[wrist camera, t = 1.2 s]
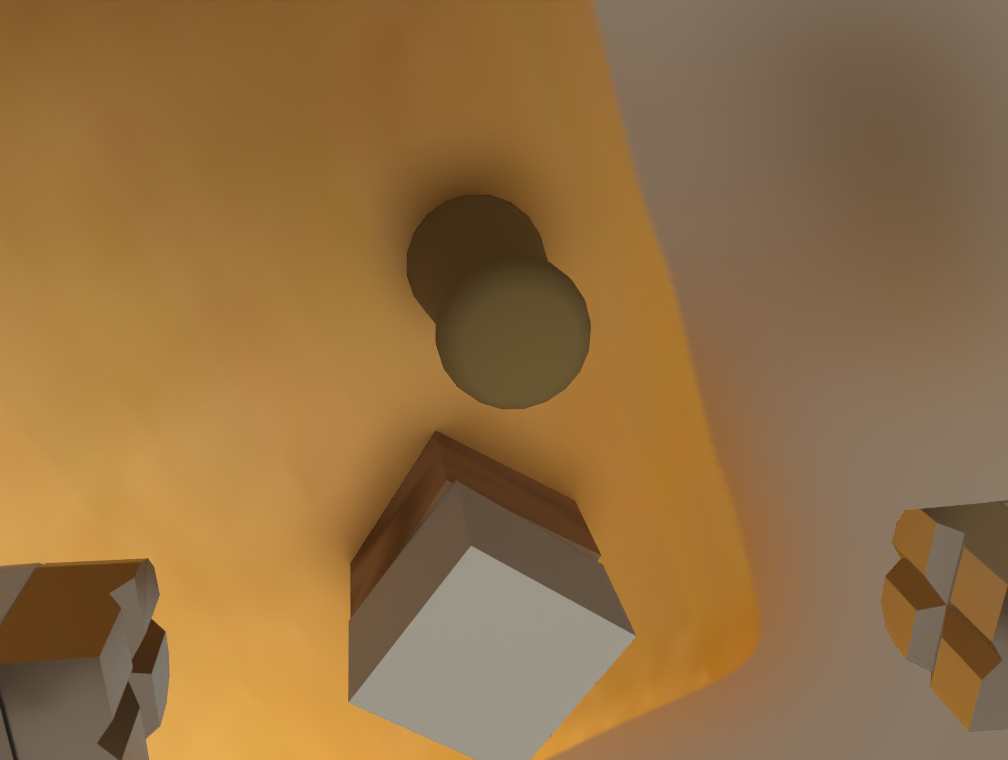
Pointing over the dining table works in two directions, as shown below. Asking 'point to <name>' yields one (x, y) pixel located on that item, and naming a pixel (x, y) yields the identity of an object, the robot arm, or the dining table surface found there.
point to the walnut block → (428, 487)
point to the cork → (497, 303)
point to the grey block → (484, 631)
